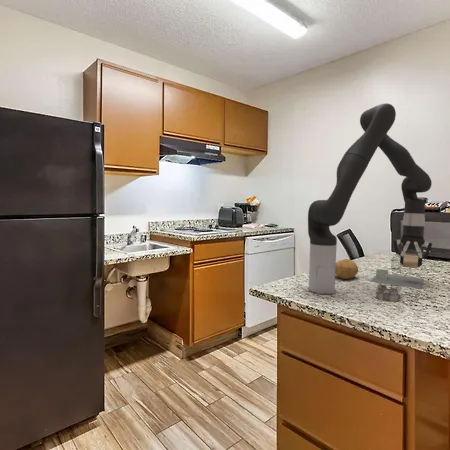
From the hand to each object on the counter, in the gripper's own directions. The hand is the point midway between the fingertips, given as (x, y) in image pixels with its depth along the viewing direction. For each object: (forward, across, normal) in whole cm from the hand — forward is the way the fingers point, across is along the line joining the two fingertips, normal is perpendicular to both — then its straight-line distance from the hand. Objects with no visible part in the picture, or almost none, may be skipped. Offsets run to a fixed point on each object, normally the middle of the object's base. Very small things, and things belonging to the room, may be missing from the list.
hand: (410, 265), depth 125 cm
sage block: (+7, -10, 0) cm, 12 cm away
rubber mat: (+7, -4, 0) cm, 8 cm away
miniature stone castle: (+8, -4, -27) cm, 29 cm away
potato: (+8, -23, -9) cm, 26 cm away
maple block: (0, 0, 0) cm, 0 cm away
